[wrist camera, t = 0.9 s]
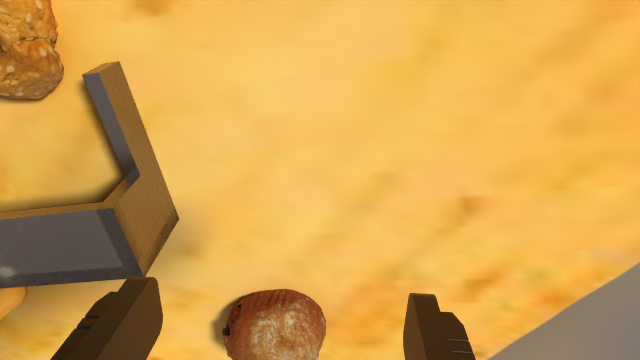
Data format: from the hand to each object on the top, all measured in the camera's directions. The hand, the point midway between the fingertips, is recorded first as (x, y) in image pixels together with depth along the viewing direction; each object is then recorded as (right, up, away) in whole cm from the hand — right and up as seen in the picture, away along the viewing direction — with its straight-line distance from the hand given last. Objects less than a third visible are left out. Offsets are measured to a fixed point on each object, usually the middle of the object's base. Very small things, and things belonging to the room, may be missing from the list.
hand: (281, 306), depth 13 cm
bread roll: (-3, -11, +31) cm, 33 cm away
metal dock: (-20, +5, +22) cm, 30 cm away
